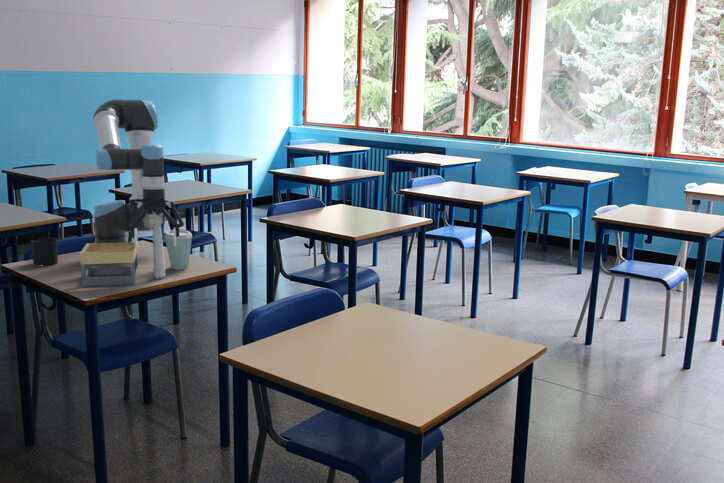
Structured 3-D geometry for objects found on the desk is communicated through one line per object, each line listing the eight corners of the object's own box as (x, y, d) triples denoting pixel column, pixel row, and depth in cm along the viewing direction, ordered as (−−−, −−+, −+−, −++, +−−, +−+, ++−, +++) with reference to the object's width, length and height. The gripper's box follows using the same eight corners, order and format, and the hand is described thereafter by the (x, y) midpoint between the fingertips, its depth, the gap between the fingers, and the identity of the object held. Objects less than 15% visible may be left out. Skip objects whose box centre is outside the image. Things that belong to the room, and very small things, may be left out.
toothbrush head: (168, 278, 247) (166, 211, 242) (152, 281, 242) (150, 212, 237) (161, 275, 250) (158, 209, 246) (145, 278, 245) (142, 211, 241)
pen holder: (59, 266, 262) (57, 241, 260) (32, 268, 258) (31, 242, 256) (58, 261, 271) (56, 237, 269) (32, 263, 266) (30, 238, 264)
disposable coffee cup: (199, 268, 263) (198, 231, 260) (178, 273, 254) (176, 234, 251) (180, 264, 269) (179, 228, 266) (159, 269, 260) (158, 231, 257)
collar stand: (88, 275, 249) (86, 243, 247) (137, 273, 253) (136, 242, 251) (82, 286, 232) (80, 253, 230) (135, 284, 237) (133, 251, 235)
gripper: (115, 189, 233) (118, 249, 237) (189, 188, 240) (191, 246, 243) (117, 187, 240) (120, 245, 244) (189, 186, 247) (190, 243, 251)
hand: (155, 246), depth 244 cm, fingers open, 13 cm apart
